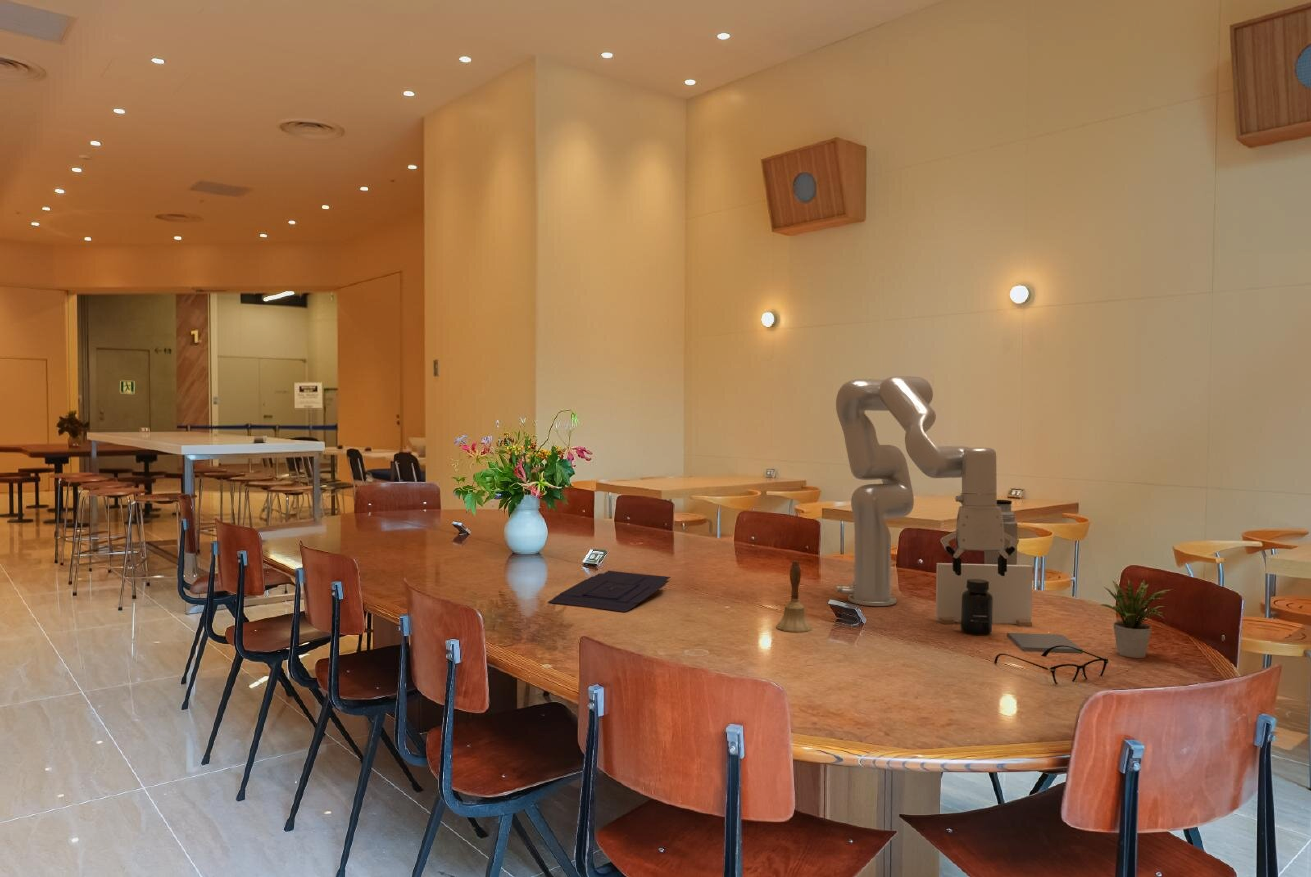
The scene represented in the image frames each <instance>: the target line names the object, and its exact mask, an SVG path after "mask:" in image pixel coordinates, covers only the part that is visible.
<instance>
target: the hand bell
mask: <svg viewBox="0 0 1311 877" xmlns="http://www.w3.org/2000/svg"><path fill="white" fill-rule="evenodd" d="M799 563H800V562H799V561H798V560H793V561H792V563H791V567H790V570H789V581H790V586H791V592H790V594H791V596H790V602H788V603H786V604H785V605H784V611H783V615H782V618H781V620H780V621H779V622H778V623H777V624H776V625H775V627H776V629H778V630H780V631H784V632H788V633H806V632H810V631H811V630H812V629H813V627H812V625H811V624H810V623H809V622H808V619H807V617H806V613H805V612H806V611H805V606H804V605H803V604H801V603H800V602H799V585H800V582H801V578H802V577H801V576H802V572H801V567H800V564H799Z"/></svg>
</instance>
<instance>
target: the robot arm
mask: <svg viewBox="0 0 1311 877" xmlns="http://www.w3.org/2000/svg"><path fill="white" fill-rule="evenodd" d="M933 397H934V391H933V388H932V386H931V384H930V383H929V382H928V380H926V379H925V378H923V377H921V376H905V375H903V376H902V375H895V376H894V375H893V376H890V377H887V378H885V379H873V378H868V379H867V378H861V379H860V378H859V379H858V378H857V379H851V380H848V381H847V382H845V383H844V384H842V385H841V387H840V388H839V389H838V391H837V394H836V399H835V410H836V411H835V412H836V415H837V418H838V421H839V424H840V426H841V430H842V432H843V438H844V443H845V448H846V453H847V459H848V463H849V468H850V472H851V474H852V476H853V477H854V478H856V479H858V480H862V481H872V480H873V481H876V480H877V481H878V480H881V482H882V483H873V484H872V483H871V484H870V483H869V484H868V483H867V484H864V485H861V486H859V487H857V488H856V489H855V490H854V492H853V493H852V494H851V499H850V506H851V512H852V517H853V518H852V519H853V526H854V527H853V528H854V566H853V567H854V572H853V573H854V576H853V577H854V580H853V581H852V582H851V584H848V585H836V593H841V594H845V595H846V594H847V595H848V597H847V600H848V601H849V602H851V603H852V604H855V605H859V606H860V605H861V606H866V607H867V606H870V607H887V606H892V605H895V604H897V597H895V596H894V595H891V587H892V586H891V578H892V577H891V576H892V574H891V572H892V571H891V570H892V536H891V535H892V534H891V531H890V528H889V526H888V525H887V523H886V520H888V519H900V518H906V517H907V516H909V515H910V513H911V512H913V509H914V503H915V499H914V493H913V492H914V491H913V486H912V481H911V475H910V473H909V472H910V471H909V467H908V462H907V460H906V457H905V455H904V453H903V451H902V450H901V449H900V448H899V447H897V446H895V445H891V444H880V443H879V441H878V438H877V432H876V431H877V430H876V428H875V426H874V424H873V422H872V421H871V419H870V418H869V417H868V416H867V414H866V412H865V411H879V412H880V411H884V412H885V411H886V412H887V411H889V413H890V414H891V415H892V416H893V418H894V419H895V420H896V421H897V422H898V423H899V425H900V426H901V428H903V430H904V431H905V434H904V444H905V449H906V452H907V456H908V457H909V458H910V459H911V461H912V462H913V463H914V464H915V466H916V467H917V468H918V469H919V470H920V471H921V472H922V473H923V475H925V476H927V477H928V478H932V479H951V478H952V479H954V478H955V479H956V478H957V479H958V478H961V493H960V495H956V496H955V498H954V499H955V502H958V503H960V504H961V505H960V506H958V511H957V515H956V516H957V517H956V524H955V525H956V526H955V531H953V532H950V533H949V534H947V535H944V536H941V538H940V543H941V544H942V546H943V548H944V550H945V551H946V552H947V553H948V554H949V555H950V556H951V557H952V563H953V571H955V574H956V575H958V576H960V575H961V564H962V559H961V558H960V557H961V556H960V555H961V554H963V553H964V551H966V552H984V551H997V552H998V554H999V557H998V574H999V575H1001V576H1005V572H1007V558H1009V556H1010V555H1011V554H1012V553H1013V552H1014V551H1015V548H1016V547H1017V548H1018V545H1019V542H1020V539H1019V538H1018V537H1017V538H1015V537H1013V536H1011V535H1009V534H1007V533H1005V532H1004V526H1003V517H1002V512H1001V508H1000V507H997V500H998V498H997V496H998V495H997V493H998V492H997V491H998V490H997V452H996V451H995V449H993V448H991V447H969V446H963V445H961V446H958V445H957V446H954V445H953V446H952V445H950V446H949V445H948V446H946V445H945V446H937V445H936V444H935V443H933V441H932V440H931V439H930V438H929V436H928V435H927V433H926V432H928V431H929V430H930V429H931V428H932V427H933V425H934V424H935V421H936V418H937V415H936V412H935V410H934V409H933V408H932V407H931V405H930V404H931V403H932V400H933ZM954 539H955V545H956V547H954V548H952V546H951V545H950V543H949V542H950V541H952V540H954ZM1005 539H1007V540H1009V541H1010V545H1009V546H1008V547H1007V548H1006V549H1005V550H1004V546H1005Z"/></svg>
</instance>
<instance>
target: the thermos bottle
mask: <svg viewBox="0 0 1311 877" xmlns="http://www.w3.org/2000/svg"><path fill="white" fill-rule="evenodd" d="M1012 501H1013V500H1010V499H1008V500H1007V499H997V507H1000V508H1001V512H1002V517H1003V526H1004V532H1005V533H1007V534H1009V535H1011V536H1013V537H1015V538H1017V539H1018V521H1016V520H1015V519H1016V515H1015V512H1013V511H1012V503H1013V502H1012ZM1009 545H1010V541H1009V540H1007V539H1005V546H1004V550H1005V549H1006V548H1007V547H1008V546H1009ZM983 552H984V554H983V555H984V560H983V561H984V563H983V564H996V565H998V557H999V554H998V552H997V551H983ZM1007 565H1018V546H1017V547H1016V548H1015V551H1014V552H1013V553H1012V554H1011V555H1010V556H1009V558H1007Z"/></svg>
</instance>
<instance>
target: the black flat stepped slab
mask: <svg viewBox="0 0 1311 877" xmlns="http://www.w3.org/2000/svg"><path fill="white" fill-rule="evenodd" d="M669 579H671V576H666V575H665V576H664V575H654V574H644V573H633V572H623V571H615V570H608V571H605V572H603V573H598V574H596V575H594V576H591V577H588V578H587V579H585V578H584V579H583V580H582V581H580V582H579V583H578V582H577V584H575V585H573V586H571V587H570V588H568V589H566V590H564V591H562V592H560V593H559V594H557V595H556V596H554V597H553V598H552V599H550V600H548V603H549V604H552V603H553V604H560V605H570V606H579V607H588V608H594V609H595V608H596V609H603V610H607V611H608V610H609V611H615V612H622V613H626V612H628V611H630V610H631V609H633V608H634V607H636V606H637V605H639V604H640V603H641V602H642V601H644V600H645V599H647V598H648V597H650V596H651V595H653V594H654V593H655V592H657V591H659V590H661V589H662V588H664V587H665V586H666V585H667V584H668V583H669V582H670V580H669Z"/></svg>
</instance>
